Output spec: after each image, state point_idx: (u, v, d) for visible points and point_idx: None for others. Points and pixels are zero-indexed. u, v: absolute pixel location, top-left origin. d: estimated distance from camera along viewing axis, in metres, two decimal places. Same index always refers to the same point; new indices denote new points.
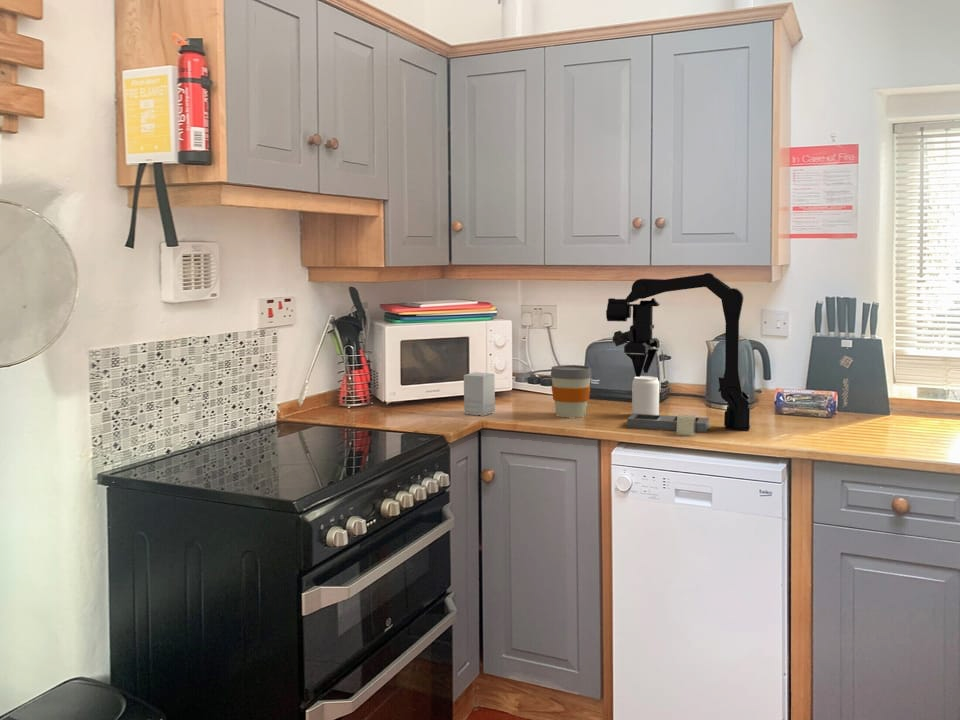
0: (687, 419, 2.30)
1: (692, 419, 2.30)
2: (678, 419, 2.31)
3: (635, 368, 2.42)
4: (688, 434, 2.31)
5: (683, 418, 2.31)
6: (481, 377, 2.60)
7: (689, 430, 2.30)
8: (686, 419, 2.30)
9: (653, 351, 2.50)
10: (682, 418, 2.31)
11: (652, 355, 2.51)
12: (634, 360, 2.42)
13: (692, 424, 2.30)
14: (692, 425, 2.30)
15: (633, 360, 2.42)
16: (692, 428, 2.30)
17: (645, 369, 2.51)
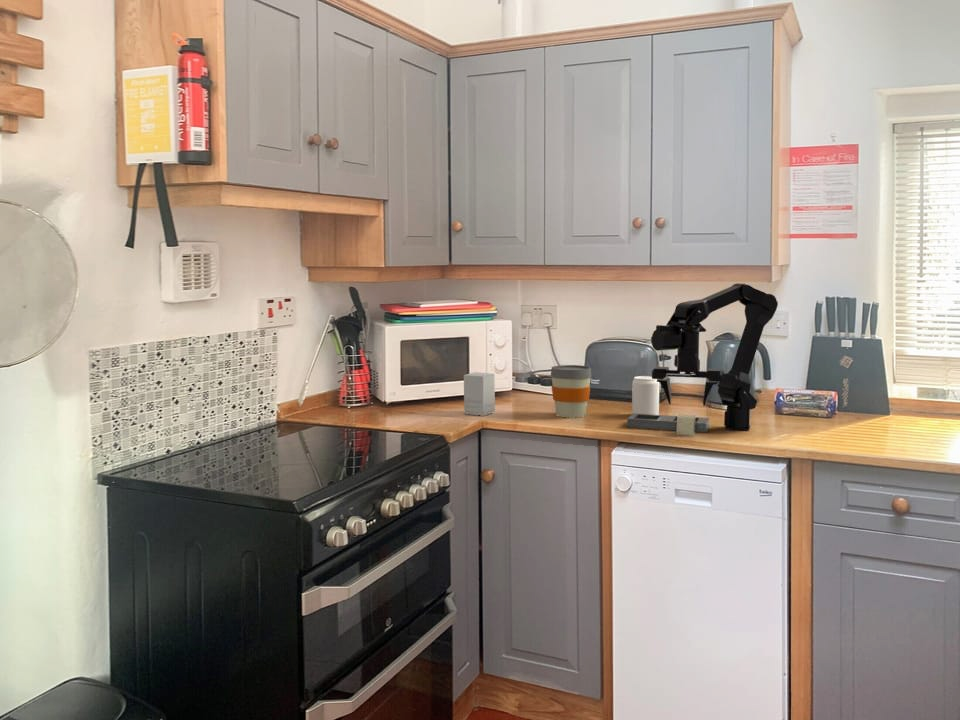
0: (687, 419, 2.30)
1: (692, 419, 2.30)
2: (678, 419, 2.31)
3: None
4: (688, 434, 2.31)
5: (683, 418, 2.31)
6: (481, 377, 2.60)
7: (689, 430, 2.30)
8: (686, 419, 2.30)
9: None
10: (682, 418, 2.31)
11: (705, 388, 2.28)
12: None
13: (692, 424, 2.30)
14: (692, 425, 2.30)
15: None
16: (692, 428, 2.30)
17: None
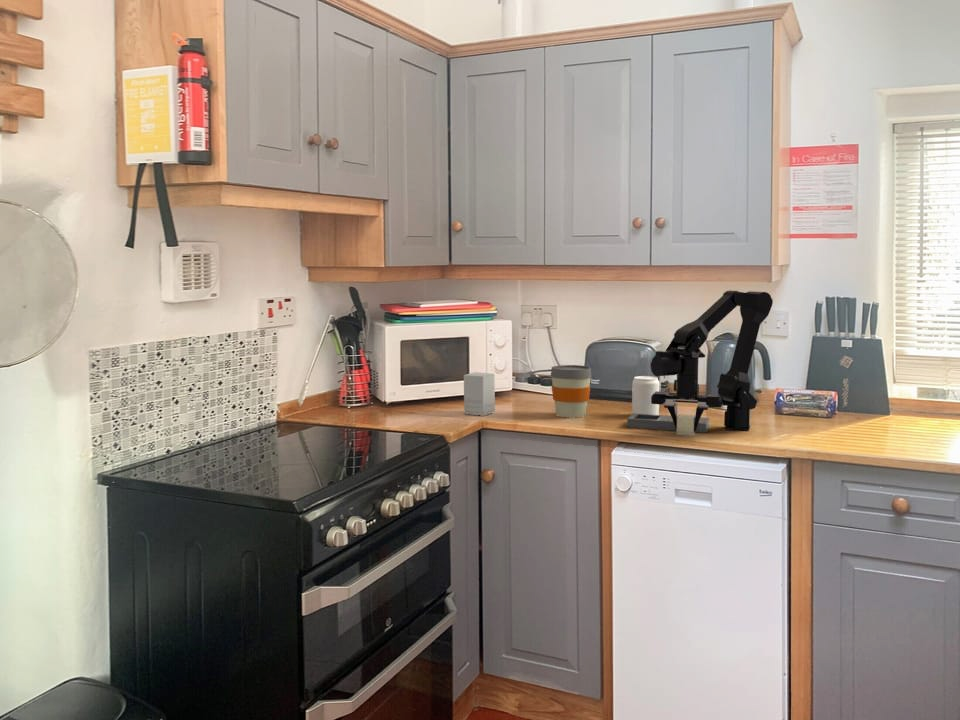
0: (687, 419, 2.30)
1: (692, 419, 2.30)
2: (678, 419, 2.31)
3: None
4: (688, 434, 2.31)
5: (683, 418, 2.31)
6: (481, 377, 2.60)
7: (689, 430, 2.30)
8: (686, 419, 2.30)
9: None
10: (682, 418, 2.31)
11: None
12: None
13: (692, 424, 2.30)
14: (692, 425, 2.30)
15: None
16: (692, 428, 2.30)
17: (694, 426, 2.32)
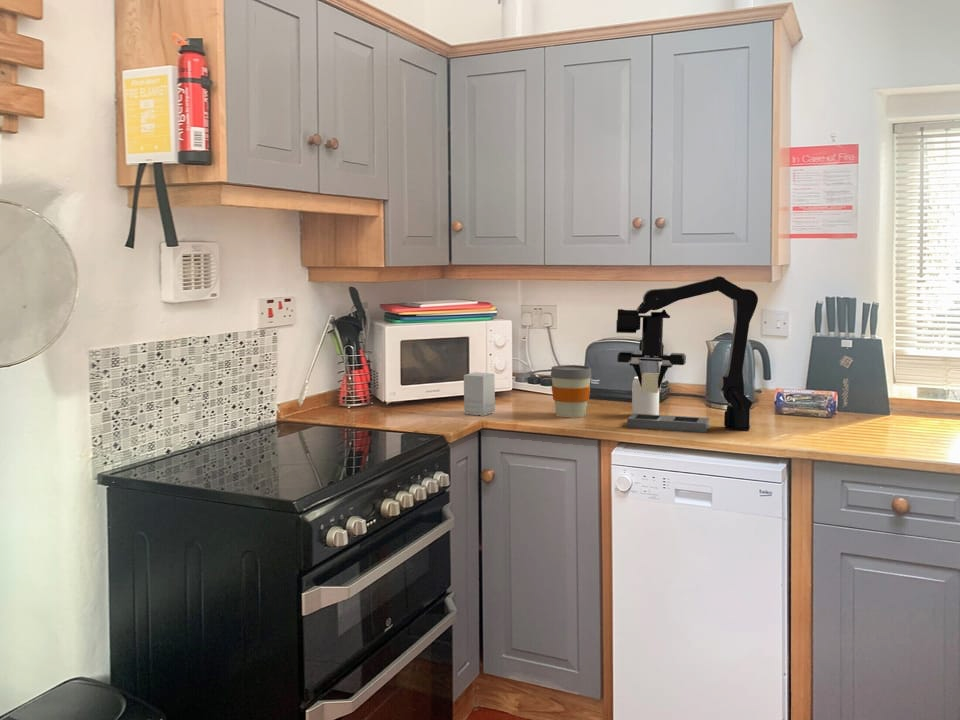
0: (651, 376, 2.39)
1: (656, 376, 2.39)
2: (643, 376, 2.40)
3: None
4: (652, 391, 2.40)
5: (648, 375, 2.40)
6: (481, 377, 2.60)
7: (653, 387, 2.39)
8: (650, 376, 2.39)
9: None
10: (647, 375, 2.40)
11: None
12: None
13: (656, 381, 2.39)
14: (656, 382, 2.39)
15: None
16: (656, 385, 2.39)
17: None
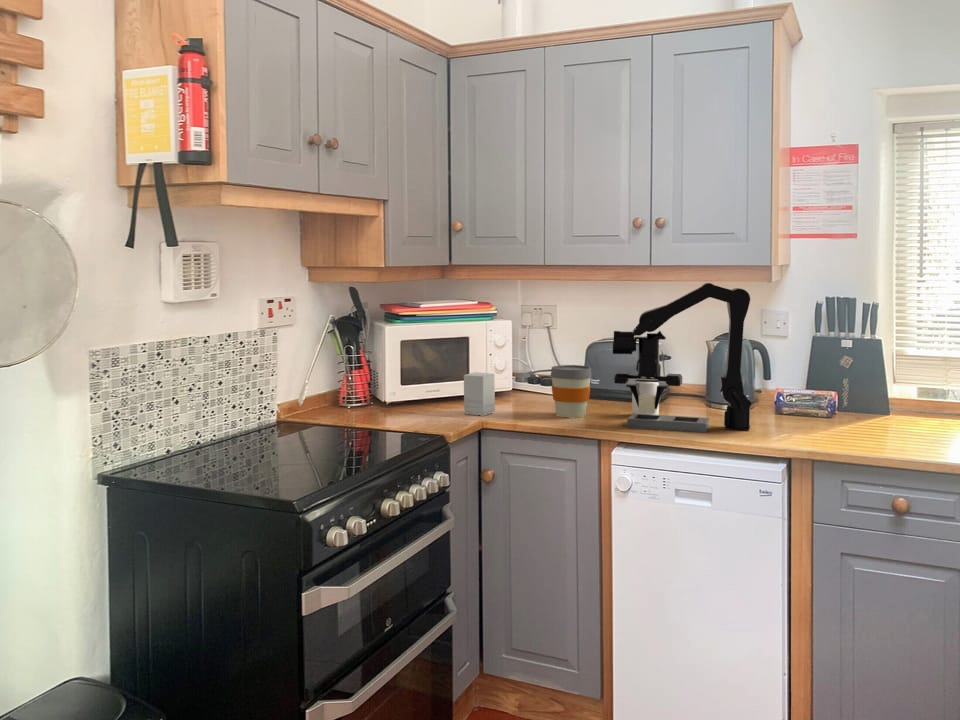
0: (648, 397, 2.41)
1: (653, 397, 2.41)
2: (640, 397, 2.42)
3: None
4: (649, 411, 2.42)
5: (644, 396, 2.42)
6: (481, 377, 2.60)
7: (650, 408, 2.41)
8: (647, 397, 2.41)
9: None
10: (643, 396, 2.42)
11: None
12: None
13: (653, 402, 2.41)
14: (653, 403, 2.41)
15: None
16: (653, 406, 2.41)
17: None
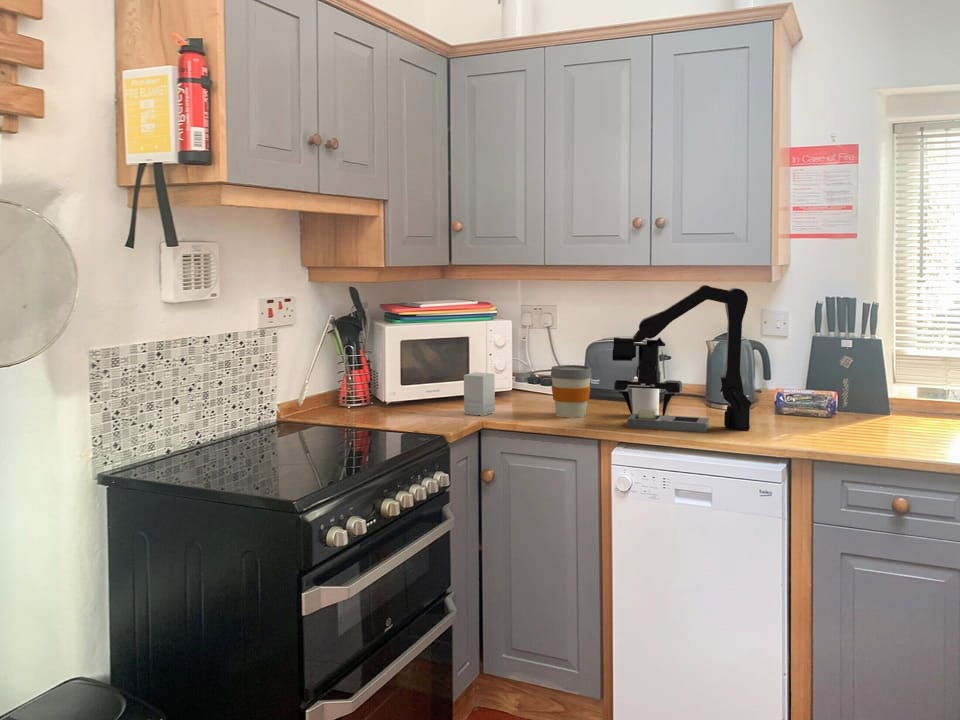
0: (648, 411, 2.42)
1: (652, 411, 2.41)
2: (639, 412, 2.43)
3: None
4: None
5: (644, 411, 2.42)
6: (481, 377, 2.60)
7: None
8: (647, 412, 2.42)
9: None
10: (643, 411, 2.42)
11: None
12: None
13: (653, 416, 2.42)
14: (653, 417, 2.42)
15: None
16: None
17: None
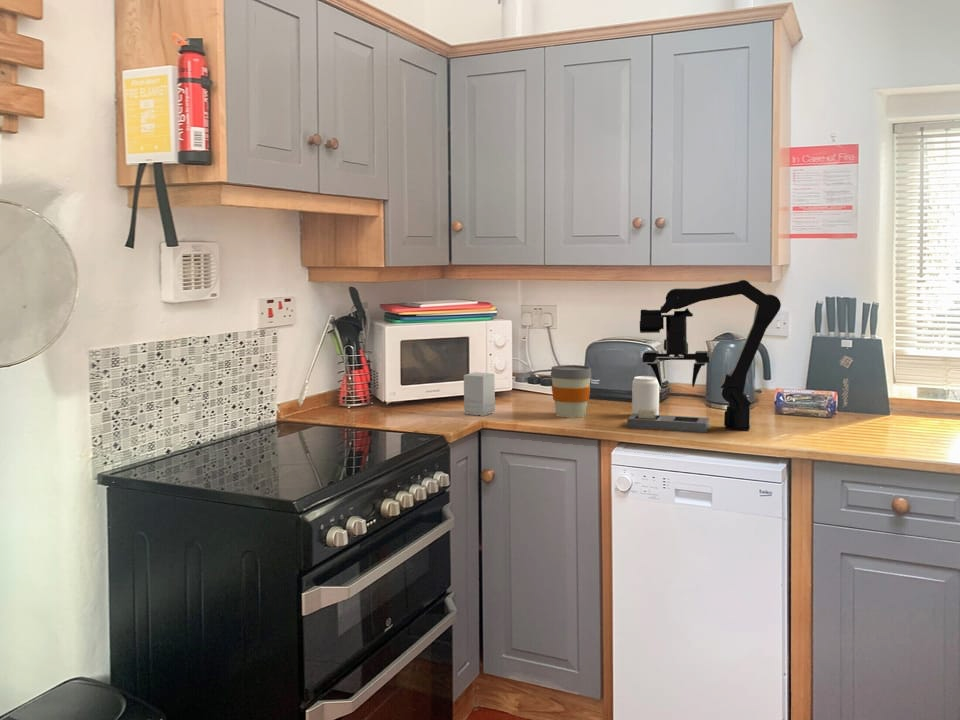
0: (648, 412, 2.42)
1: (652, 411, 2.41)
2: (639, 412, 2.43)
3: None
4: None
5: (644, 411, 2.42)
6: (481, 377, 2.60)
7: None
8: (647, 412, 2.42)
9: None
10: (643, 411, 2.42)
11: (693, 369, 2.39)
12: None
13: (653, 416, 2.42)
14: (653, 417, 2.42)
15: None
16: None
17: None
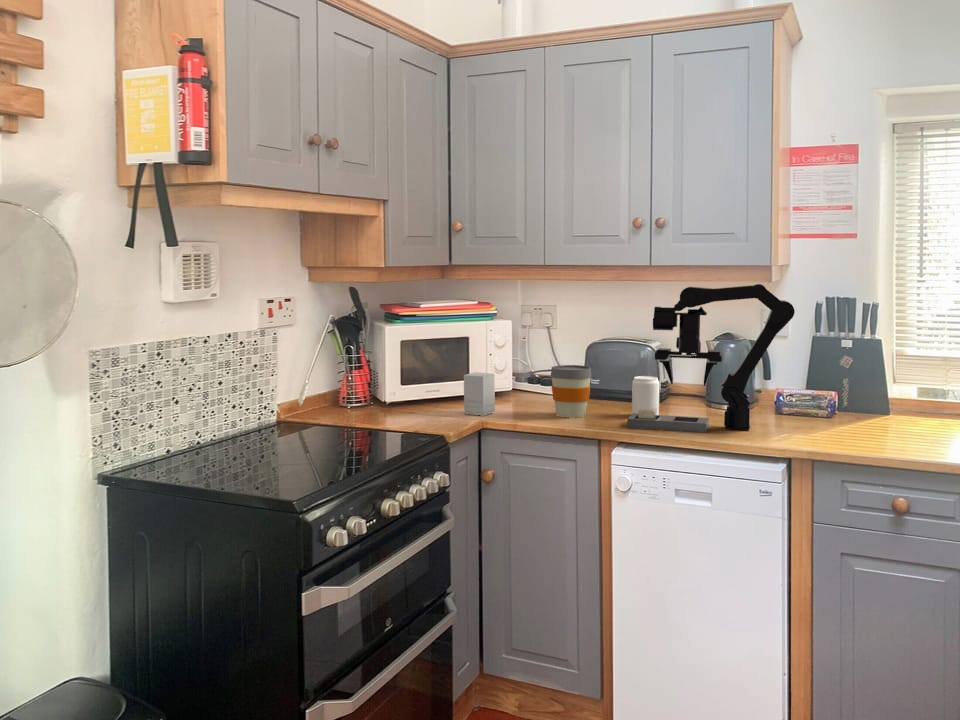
0: (648, 412, 2.42)
1: (653, 411, 2.41)
2: (639, 412, 2.43)
3: None
4: None
5: (644, 411, 2.42)
6: (481, 377, 2.60)
7: None
8: (647, 412, 2.42)
9: (706, 364, 2.38)
10: (643, 411, 2.42)
11: (705, 368, 2.39)
12: None
13: (653, 416, 2.42)
14: (653, 417, 2.42)
15: None
16: None
17: (704, 381, 2.41)
